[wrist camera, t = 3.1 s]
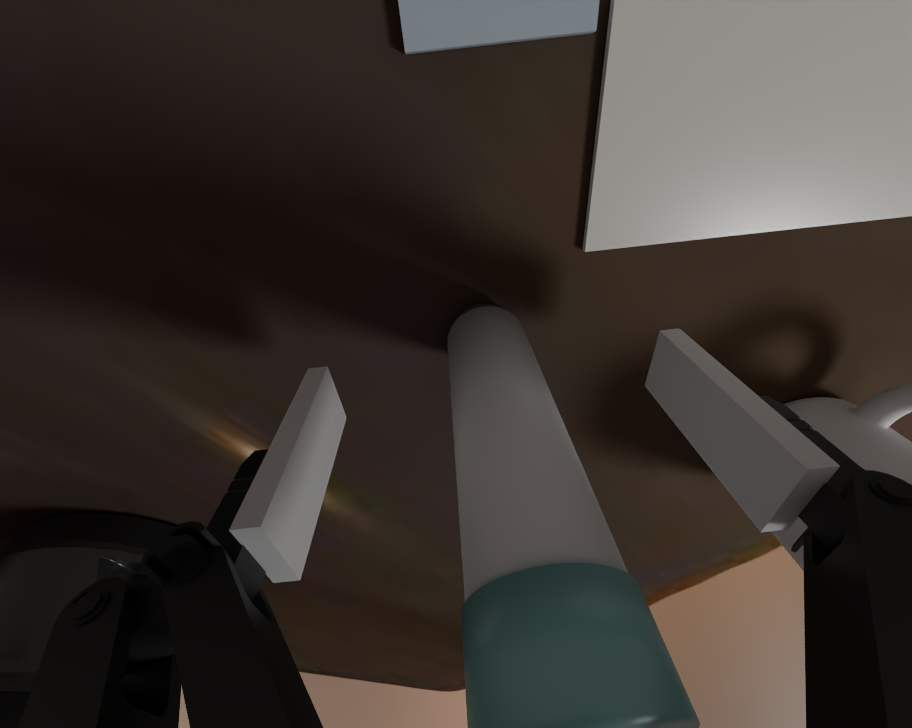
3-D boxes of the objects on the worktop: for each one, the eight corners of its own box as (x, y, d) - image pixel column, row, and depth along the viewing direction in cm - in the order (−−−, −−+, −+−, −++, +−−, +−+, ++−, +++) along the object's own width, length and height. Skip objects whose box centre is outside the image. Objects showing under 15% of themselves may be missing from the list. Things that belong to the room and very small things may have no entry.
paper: (582, 249, 15) (584, 251, 15) (648, -333, 8) (655, -347, 8) (929, 211, 15) (937, 213, 15) (1329, -416, 8) (1358, -433, 8)
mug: (823, 328, 18) (1150, 505, 10) (943, 349, 20) (1323, 522, 11) (692, 474, 25) (824, 655, 17) (789, 483, 26) (956, 655, 18)
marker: (448, 366, 19) (476, 770, 7) (440, 299, 16) (459, 728, 5) (521, 358, 18) (666, 752, 7) (522, 290, 16) (735, 700, 5)
